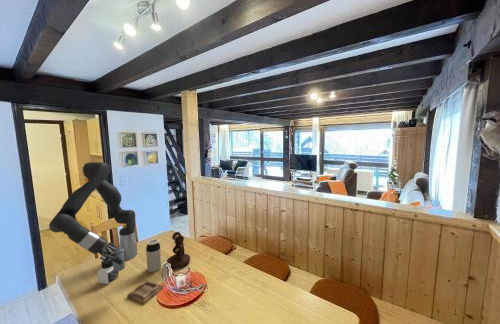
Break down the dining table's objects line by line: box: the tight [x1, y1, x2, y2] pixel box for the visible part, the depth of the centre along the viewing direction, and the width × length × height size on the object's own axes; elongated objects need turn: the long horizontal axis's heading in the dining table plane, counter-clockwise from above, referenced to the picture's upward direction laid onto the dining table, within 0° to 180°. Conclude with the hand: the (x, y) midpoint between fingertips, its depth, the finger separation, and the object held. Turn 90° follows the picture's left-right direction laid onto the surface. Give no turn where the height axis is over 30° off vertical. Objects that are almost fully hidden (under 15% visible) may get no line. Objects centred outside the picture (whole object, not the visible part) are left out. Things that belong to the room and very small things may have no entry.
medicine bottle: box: [97, 260, 120, 285], centre depth 121 cm, size 7×7×12 cm
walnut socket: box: [126, 279, 164, 305], centre depth 111 cm, size 12×12×3 cm
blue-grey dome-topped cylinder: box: [112, 246, 125, 272], centre depth 108 cm, size 6×6×10 cm
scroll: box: [166, 231, 191, 269], centre depth 138 cm, size 15×15×20 cm
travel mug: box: [145, 238, 162, 273], centre depth 131 cm, size 8×8×18 cm
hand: (122, 260), depth 108 cm, fingers closed on blue-grey dome-topped cylinder, 5 cm apart
